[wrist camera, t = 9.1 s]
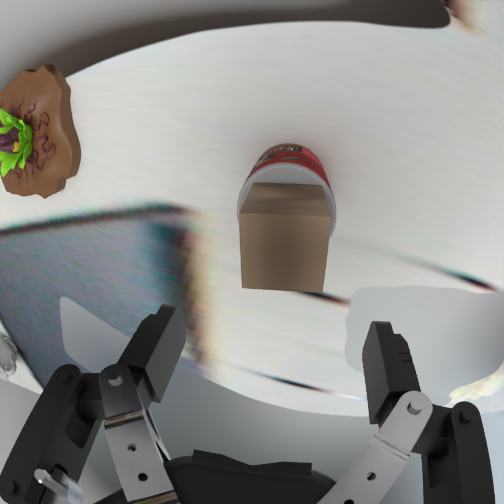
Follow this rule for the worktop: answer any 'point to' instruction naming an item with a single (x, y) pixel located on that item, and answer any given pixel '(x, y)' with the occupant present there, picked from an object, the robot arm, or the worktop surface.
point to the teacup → (7, 358)
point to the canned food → (289, 173)
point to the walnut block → (284, 237)
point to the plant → (37, 133)
